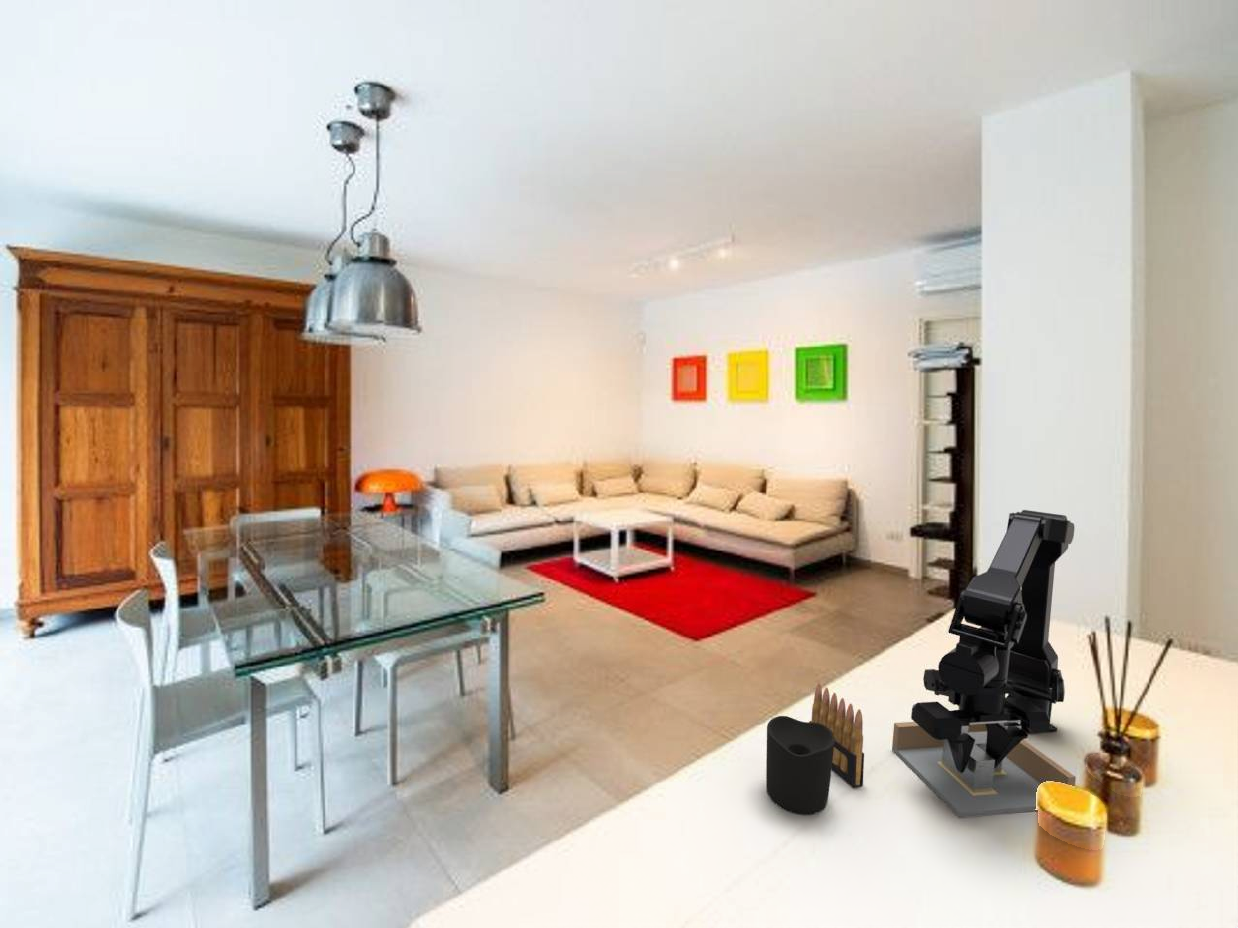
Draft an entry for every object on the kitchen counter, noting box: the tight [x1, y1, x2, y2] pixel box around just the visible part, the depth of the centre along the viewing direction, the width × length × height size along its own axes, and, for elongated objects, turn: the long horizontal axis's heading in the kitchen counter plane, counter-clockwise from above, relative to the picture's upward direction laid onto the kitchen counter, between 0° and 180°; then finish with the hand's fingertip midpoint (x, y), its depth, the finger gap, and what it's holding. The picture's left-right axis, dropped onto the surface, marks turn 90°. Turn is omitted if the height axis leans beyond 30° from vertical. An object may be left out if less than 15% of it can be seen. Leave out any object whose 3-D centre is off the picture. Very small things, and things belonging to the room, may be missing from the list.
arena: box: [891, 721, 1077, 819], centre depth 92 cm, size 18×16×5 cm
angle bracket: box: [942, 731, 1003, 793], centre depth 91 cm, size 7×8×5 cm
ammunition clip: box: [808, 682, 865, 789], centre depth 94 cm, size 11×2×12 cm, turn 22°
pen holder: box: [765, 715, 835, 816], centre depth 86 cm, size 9×9×10 cm
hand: (974, 769), depth 89 cm, fingers open, 5 cm apart
